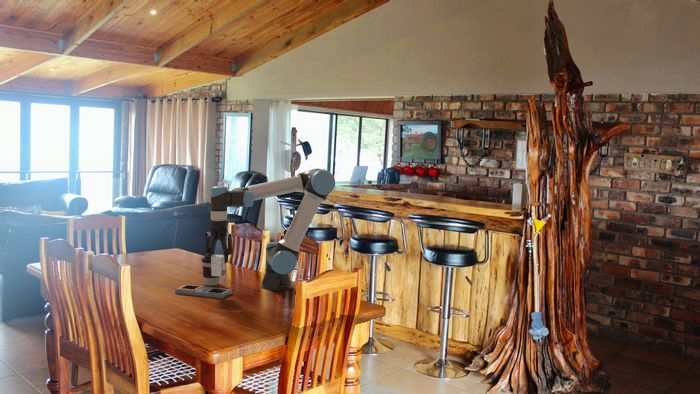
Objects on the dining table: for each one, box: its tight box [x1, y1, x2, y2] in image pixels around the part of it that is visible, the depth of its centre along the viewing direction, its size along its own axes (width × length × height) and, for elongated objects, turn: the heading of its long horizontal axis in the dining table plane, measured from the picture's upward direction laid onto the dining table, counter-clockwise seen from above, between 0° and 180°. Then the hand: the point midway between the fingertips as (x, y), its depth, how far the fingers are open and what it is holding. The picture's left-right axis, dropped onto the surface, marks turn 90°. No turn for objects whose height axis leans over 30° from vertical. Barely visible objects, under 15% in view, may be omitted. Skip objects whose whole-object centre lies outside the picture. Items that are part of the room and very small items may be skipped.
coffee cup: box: [201, 253, 221, 286], centre depth 296 cm, size 10×10×15 cm
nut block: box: [211, 254, 227, 277], centre depth 274 cm, size 5×5×9 cm
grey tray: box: [174, 284, 233, 300], centre depth 277 cm, size 24×10×3 cm, turn 76°
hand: (218, 269), depth 274 cm, fingers closed on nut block, 5 cm apart
